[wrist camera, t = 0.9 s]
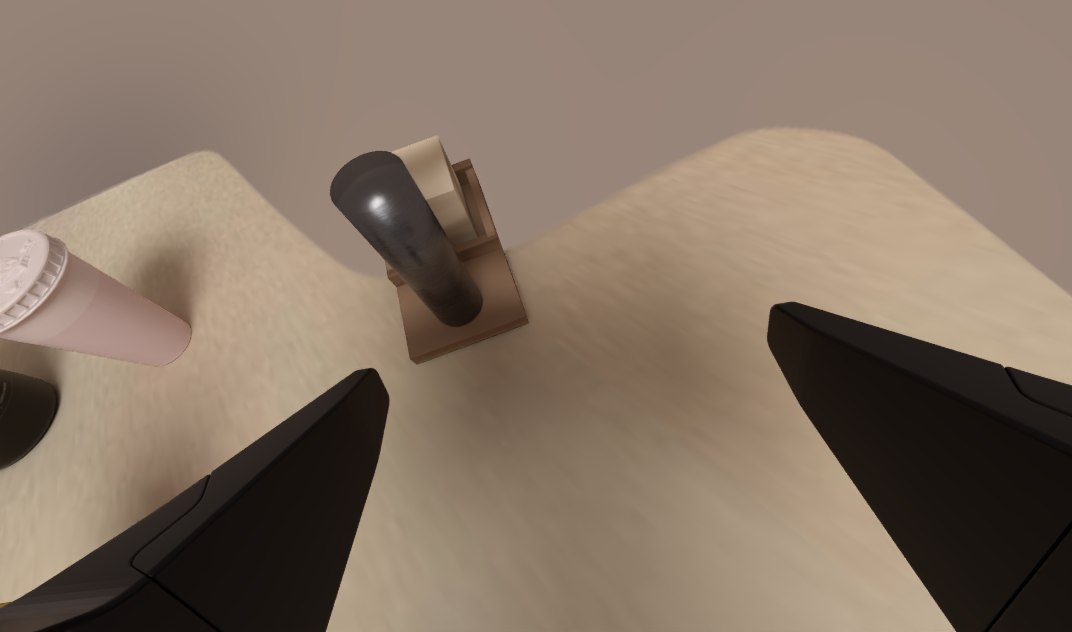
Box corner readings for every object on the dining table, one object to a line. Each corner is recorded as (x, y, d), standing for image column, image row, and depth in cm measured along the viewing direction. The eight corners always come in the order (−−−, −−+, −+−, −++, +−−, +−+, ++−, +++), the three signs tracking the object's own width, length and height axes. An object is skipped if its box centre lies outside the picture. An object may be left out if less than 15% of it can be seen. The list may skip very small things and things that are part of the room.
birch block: (479, 240, 28) (454, 189, 23) (411, 265, 28) (373, 219, 23) (462, 190, 30) (437, 135, 26) (400, 213, 30) (364, 162, 26)
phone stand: (528, 322, 26) (471, 191, 15) (417, 364, 26) (279, 262, 15) (479, 183, 32) (412, 16, 21) (388, 216, 32) (275, 67, 21)
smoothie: (131, 324, 31) (-186, 204, 19) (208, 291, 32) (-55, 150, 19) (123, 399, 28) (-257, 315, 16) (208, 362, 29) (-102, 250, 16)
